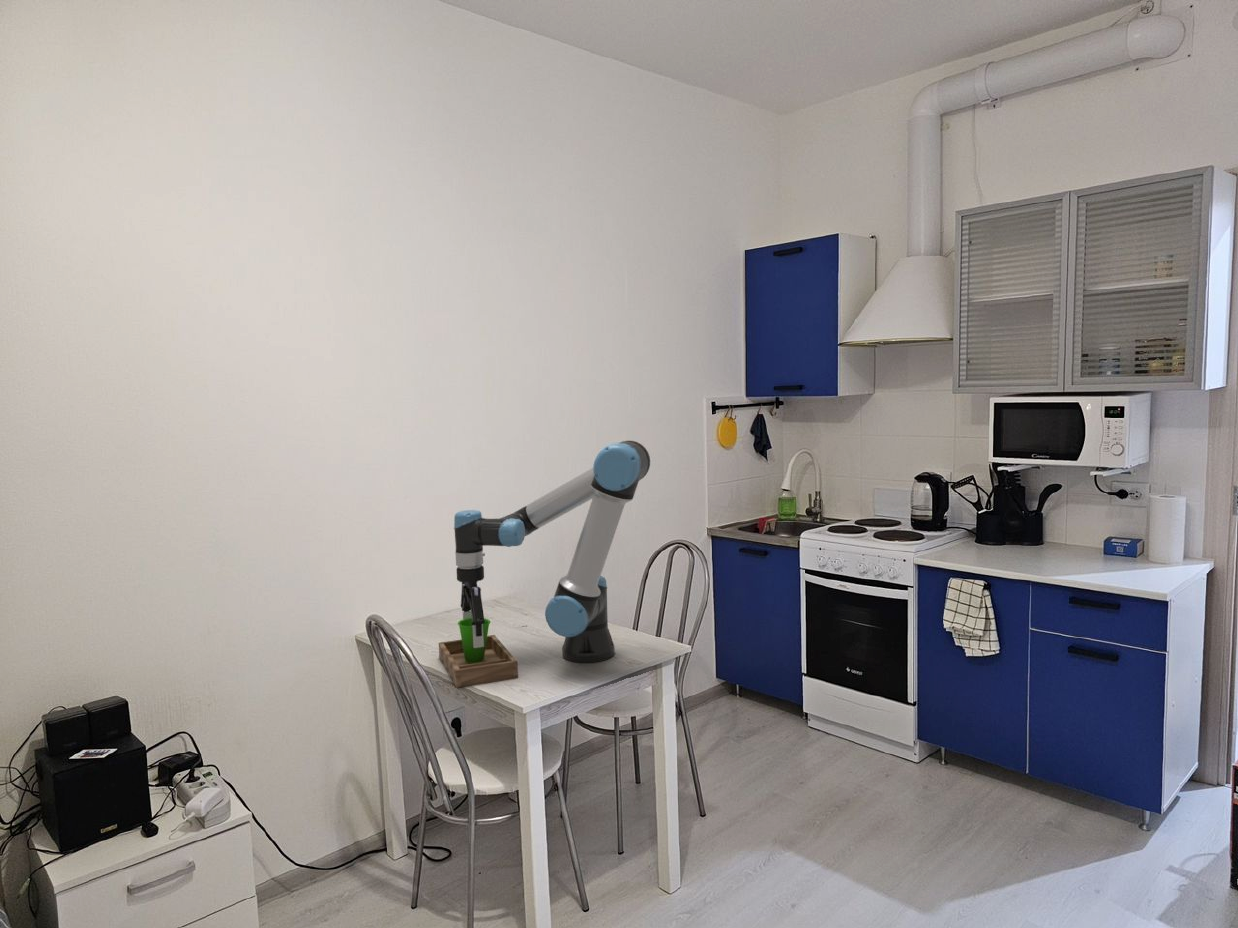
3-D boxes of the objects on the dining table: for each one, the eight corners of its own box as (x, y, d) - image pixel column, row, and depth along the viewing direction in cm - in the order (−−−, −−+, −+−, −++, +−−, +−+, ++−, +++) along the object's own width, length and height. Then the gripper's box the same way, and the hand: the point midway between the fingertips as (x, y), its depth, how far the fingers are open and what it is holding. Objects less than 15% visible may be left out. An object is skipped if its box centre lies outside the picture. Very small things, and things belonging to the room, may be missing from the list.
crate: (518, 677, 218) (517, 661, 217) (456, 687, 212) (455, 670, 211) (495, 649, 242) (494, 634, 242) (439, 657, 236) (438, 642, 236)
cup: (484, 666, 225) (484, 627, 224) (453, 664, 227) (452, 625, 226) (495, 656, 234) (494, 618, 233) (464, 654, 235) (464, 616, 235)
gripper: (493, 573, 217) (497, 650, 219) (473, 556, 240) (477, 626, 242) (465, 576, 215) (469, 654, 217) (448, 559, 238) (451, 630, 240)
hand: (473, 640), depth 229 cm, fingers open, 13 cm apart
